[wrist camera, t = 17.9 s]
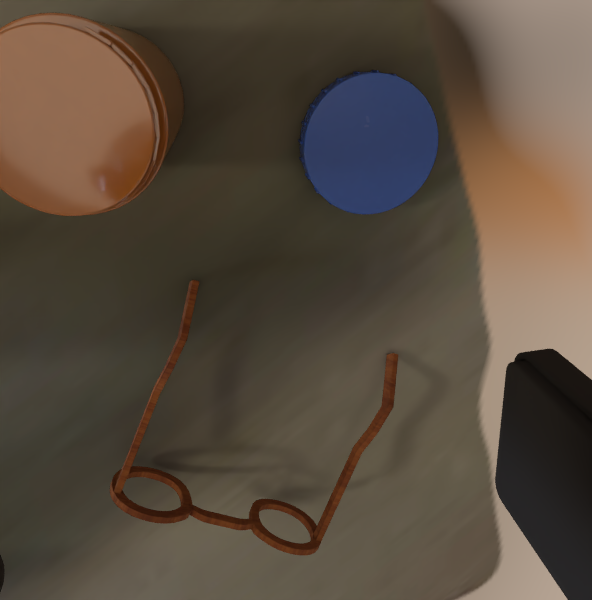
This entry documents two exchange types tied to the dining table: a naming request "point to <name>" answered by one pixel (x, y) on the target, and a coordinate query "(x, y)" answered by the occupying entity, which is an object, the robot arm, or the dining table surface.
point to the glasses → (258, 505)
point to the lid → (368, 142)
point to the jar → (82, 113)
